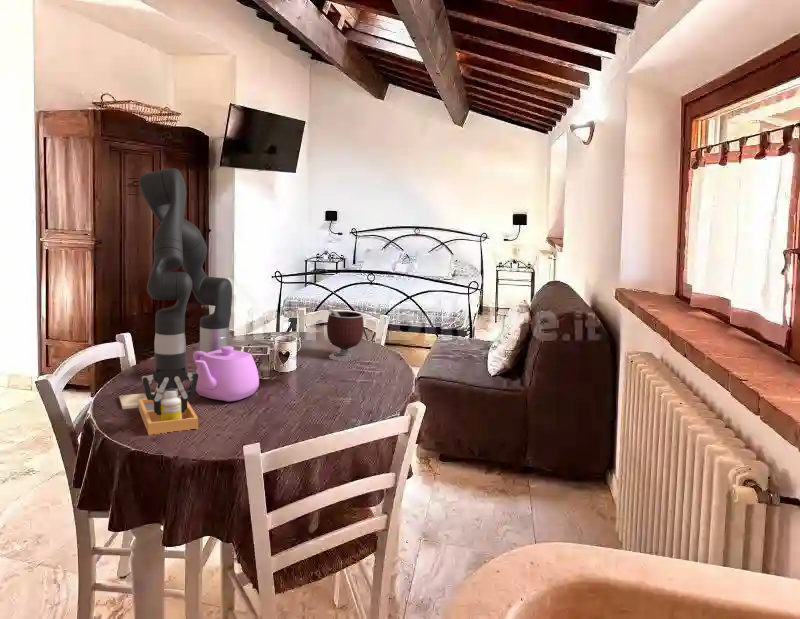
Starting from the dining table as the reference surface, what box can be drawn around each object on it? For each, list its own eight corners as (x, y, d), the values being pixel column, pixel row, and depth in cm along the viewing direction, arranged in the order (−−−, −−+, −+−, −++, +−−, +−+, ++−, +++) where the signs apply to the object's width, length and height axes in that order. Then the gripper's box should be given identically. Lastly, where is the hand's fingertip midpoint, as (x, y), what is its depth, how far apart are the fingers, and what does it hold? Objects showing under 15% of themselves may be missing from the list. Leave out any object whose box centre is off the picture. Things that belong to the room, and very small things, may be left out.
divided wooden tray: (184, 405, 182) (184, 395, 181) (198, 429, 164) (198, 418, 164) (138, 409, 176) (138, 399, 175) (148, 435, 159) (148, 423, 158)
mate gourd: (347, 351, 255) (349, 302, 251) (369, 359, 245) (371, 308, 241) (315, 356, 244) (317, 305, 241) (337, 364, 234) (339, 311, 231)
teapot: (211, 382, 205) (211, 336, 202) (266, 392, 197) (267, 345, 195) (160, 401, 184) (159, 350, 181) (220, 414, 176) (220, 361, 174)
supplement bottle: (162, 421, 168) (162, 385, 167) (183, 422, 169) (184, 386, 167) (156, 429, 163) (156, 392, 161) (178, 429, 163) (178, 392, 162)
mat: (162, 394, 190) (162, 391, 190) (168, 404, 181) (168, 401, 181) (119, 398, 184) (119, 395, 184) (122, 409, 176) (122, 406, 176)
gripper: (196, 344, 169) (196, 405, 172) (138, 347, 162) (139, 411, 165) (202, 351, 163) (201, 414, 165) (141, 355, 156) (142, 420, 159)
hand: (170, 412), depth 165 cm, fingers closed on supplement bottle, 5 cm apart
